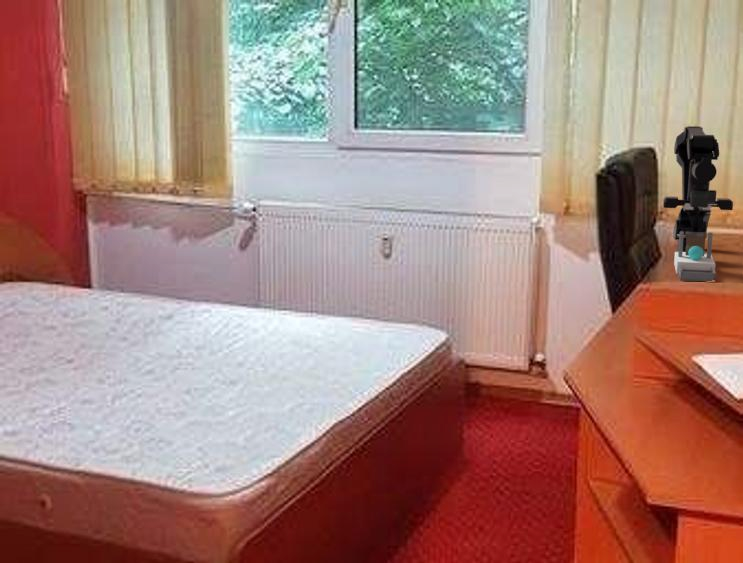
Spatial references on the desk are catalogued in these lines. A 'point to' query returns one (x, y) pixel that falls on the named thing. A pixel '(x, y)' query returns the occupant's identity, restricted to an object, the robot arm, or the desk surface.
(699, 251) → the ball
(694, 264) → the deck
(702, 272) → the tray
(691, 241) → the lever
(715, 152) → the robot arm
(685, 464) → the desk surface
